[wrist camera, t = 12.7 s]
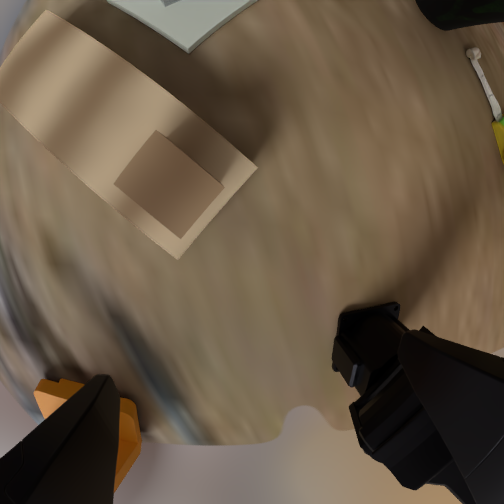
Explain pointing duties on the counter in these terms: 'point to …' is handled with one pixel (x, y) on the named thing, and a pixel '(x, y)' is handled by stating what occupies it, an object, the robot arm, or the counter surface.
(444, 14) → the cup
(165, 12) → the sage mat
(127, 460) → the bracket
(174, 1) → the lever cap
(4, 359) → the counter surface
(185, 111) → the body
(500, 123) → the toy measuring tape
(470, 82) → the counter surface
